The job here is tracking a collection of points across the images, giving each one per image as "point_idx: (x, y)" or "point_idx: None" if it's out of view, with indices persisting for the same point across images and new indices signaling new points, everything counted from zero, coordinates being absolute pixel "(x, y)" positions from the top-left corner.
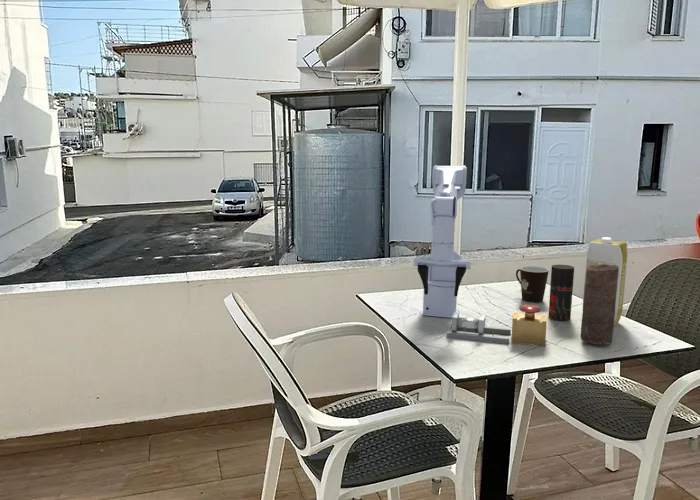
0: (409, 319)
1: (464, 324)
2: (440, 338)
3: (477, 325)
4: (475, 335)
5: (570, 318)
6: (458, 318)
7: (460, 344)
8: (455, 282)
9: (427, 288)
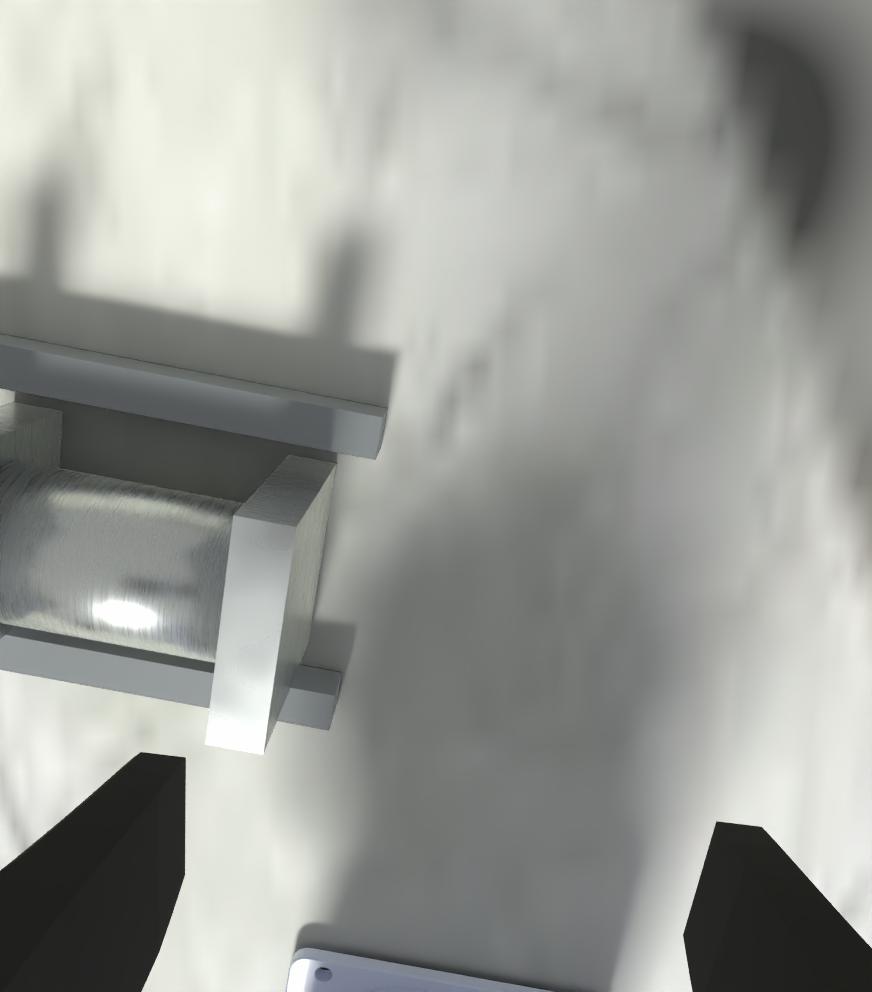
0: None
1: (161, 510)
2: (451, 364)
3: (5, 483)
4: (64, 366)
5: None
6: (221, 594)
7: (239, 196)
8: (16, 971)
9: (738, 965)
